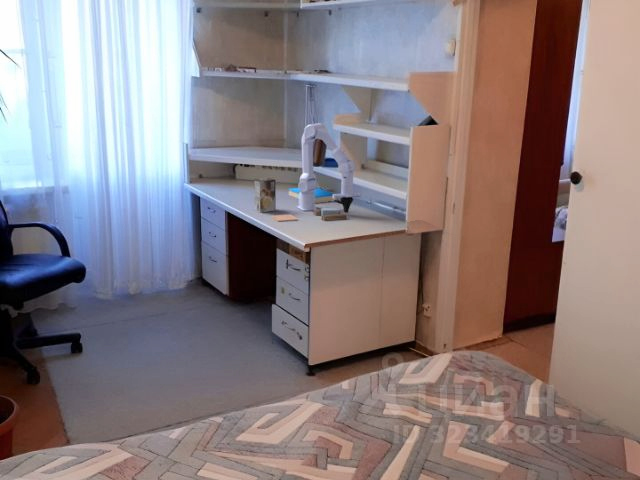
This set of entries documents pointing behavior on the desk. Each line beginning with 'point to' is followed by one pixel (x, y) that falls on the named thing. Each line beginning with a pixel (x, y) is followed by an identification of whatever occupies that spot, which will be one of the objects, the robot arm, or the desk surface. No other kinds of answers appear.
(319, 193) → the book
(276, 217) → the tile
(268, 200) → the coffee box
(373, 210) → the desk surface
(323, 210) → the block
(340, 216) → the pair of brown bars
